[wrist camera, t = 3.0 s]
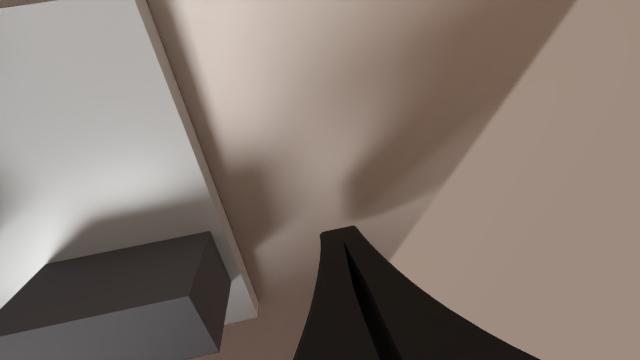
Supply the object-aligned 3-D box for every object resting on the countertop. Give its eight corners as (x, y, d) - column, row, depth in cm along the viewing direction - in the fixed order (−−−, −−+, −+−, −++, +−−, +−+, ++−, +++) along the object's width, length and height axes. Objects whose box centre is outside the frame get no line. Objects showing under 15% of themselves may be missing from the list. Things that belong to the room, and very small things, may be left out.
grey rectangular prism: (231, 281, 12) (219, 352, 9) (86, 312, 11) (30, 395, 9) (210, 230, 10) (188, 295, 8) (45, 263, 10) (-35, 344, 7)
